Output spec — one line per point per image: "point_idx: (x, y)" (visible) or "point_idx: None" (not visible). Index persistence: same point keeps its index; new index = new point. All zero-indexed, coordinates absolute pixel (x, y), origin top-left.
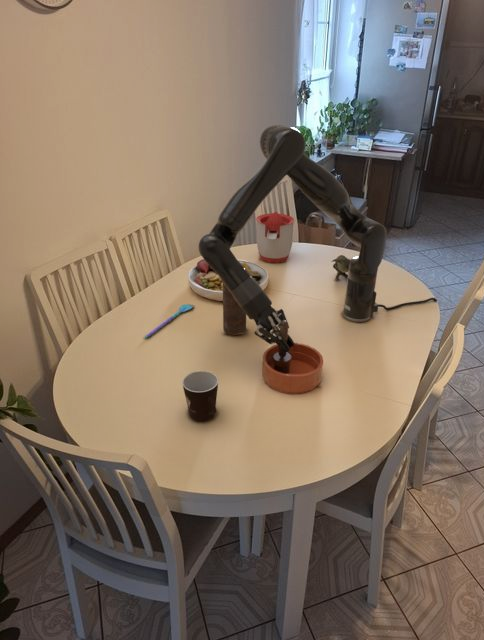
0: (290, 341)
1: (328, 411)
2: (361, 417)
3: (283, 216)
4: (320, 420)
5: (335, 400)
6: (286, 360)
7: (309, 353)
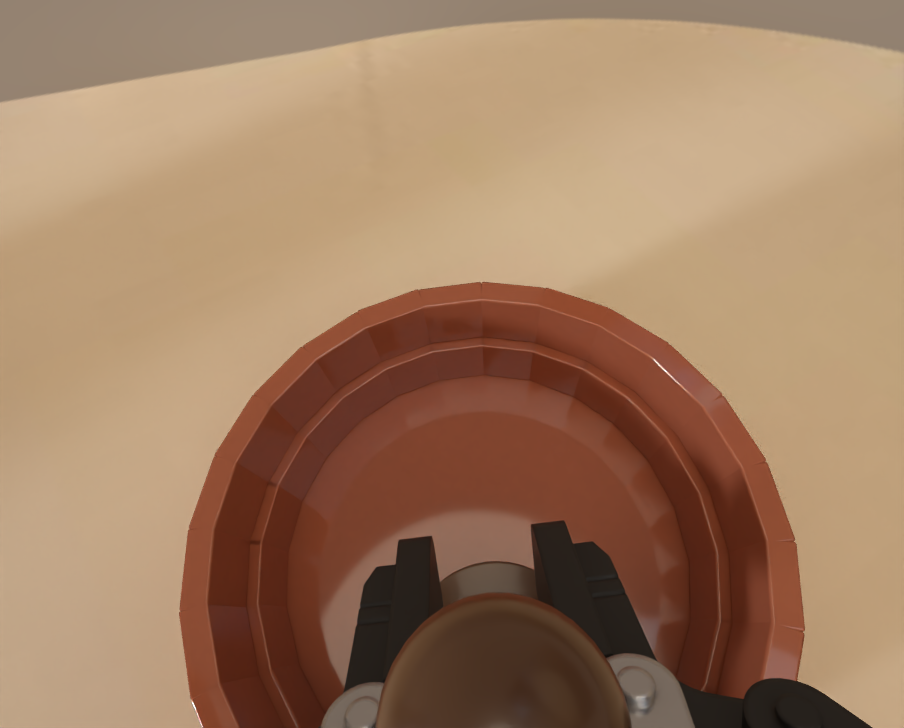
0: (430, 583)
1: (631, 223)
2: (560, 113)
3: None
4: (721, 219)
5: (527, 237)
6: (529, 583)
7: (250, 507)
